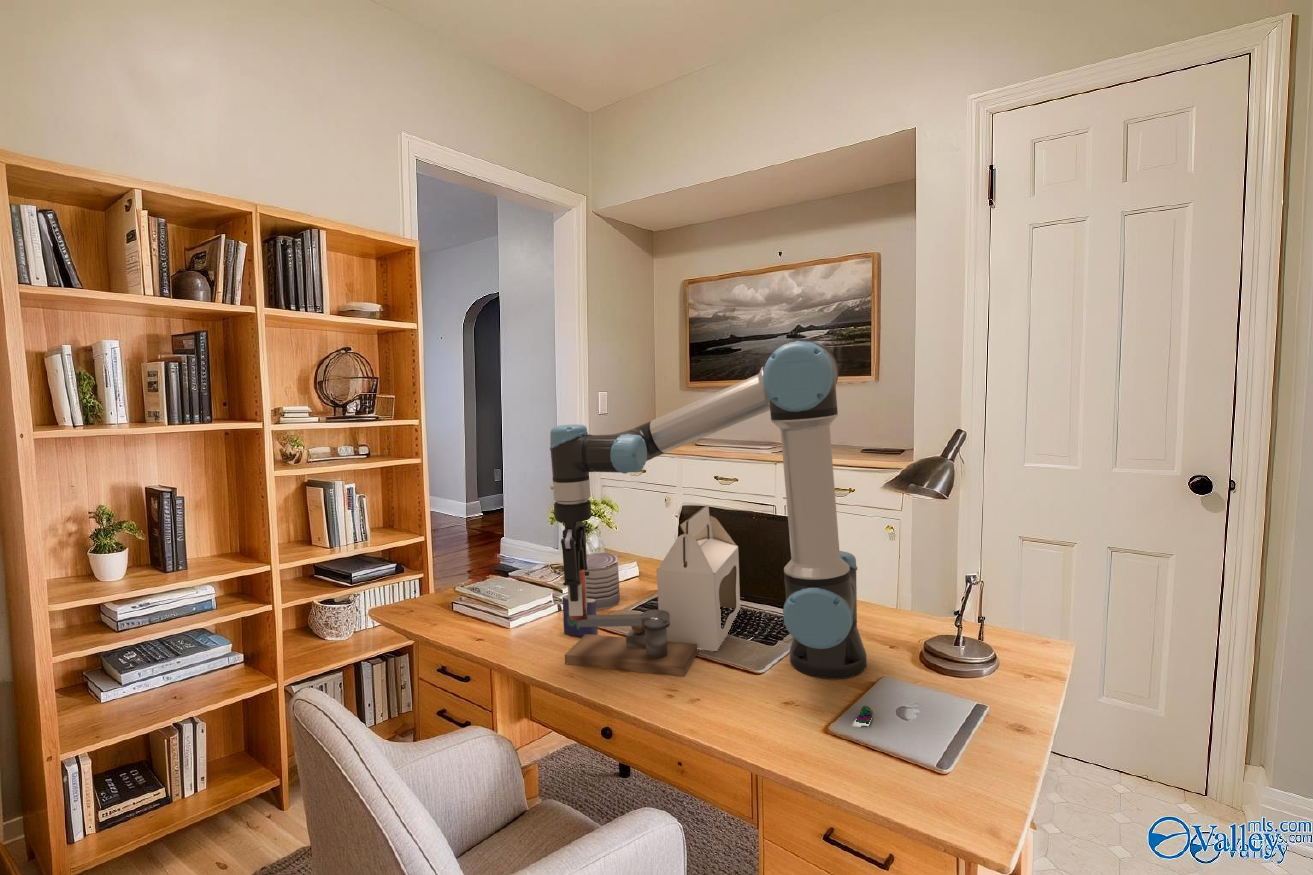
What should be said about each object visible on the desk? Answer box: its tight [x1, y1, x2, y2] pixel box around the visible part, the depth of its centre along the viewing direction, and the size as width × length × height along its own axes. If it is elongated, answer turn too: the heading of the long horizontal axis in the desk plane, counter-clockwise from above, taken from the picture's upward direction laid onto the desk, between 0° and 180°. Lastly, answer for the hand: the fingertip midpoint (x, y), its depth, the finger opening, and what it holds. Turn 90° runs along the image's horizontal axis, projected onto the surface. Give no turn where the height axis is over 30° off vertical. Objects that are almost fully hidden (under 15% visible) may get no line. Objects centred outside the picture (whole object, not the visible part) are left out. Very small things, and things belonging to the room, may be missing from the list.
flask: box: [561, 594, 599, 639], centre depth 152 cm, size 9×3×11 cm, turn 61°
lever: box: [570, 568, 670, 630], centre depth 135 cm, size 21×6×12 cm, turn 87°
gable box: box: [656, 505, 741, 651], centre depth 151 cm, size 22×13×28 cm, turn 160°
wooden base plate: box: [564, 626, 698, 677], centre depth 139 cm, size 26×11×8 cm, turn 72°
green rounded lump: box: [856, 705, 874, 724], centre depth 111 cm, size 4×3×2 cm, turn 150°
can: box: [585, 551, 621, 611], centre depth 173 cm, size 11×11×12 cm
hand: (578, 610), depth 136 cm, fingers closed on lever, 4 cm apart
